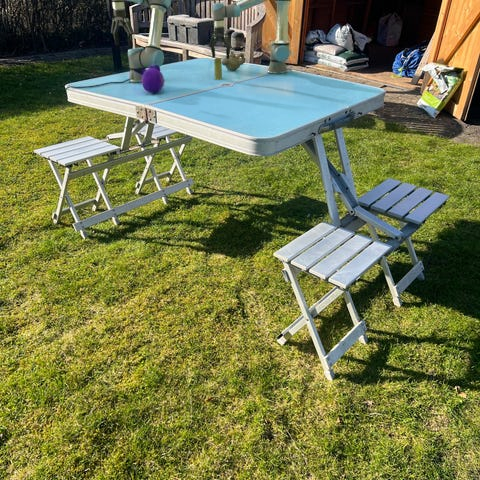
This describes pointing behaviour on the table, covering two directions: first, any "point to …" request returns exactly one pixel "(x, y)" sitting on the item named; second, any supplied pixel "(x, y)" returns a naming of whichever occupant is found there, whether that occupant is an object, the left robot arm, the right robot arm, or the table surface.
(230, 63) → the teapot
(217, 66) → the olive green upright cylinder
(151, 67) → the toy
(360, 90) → the table surface
